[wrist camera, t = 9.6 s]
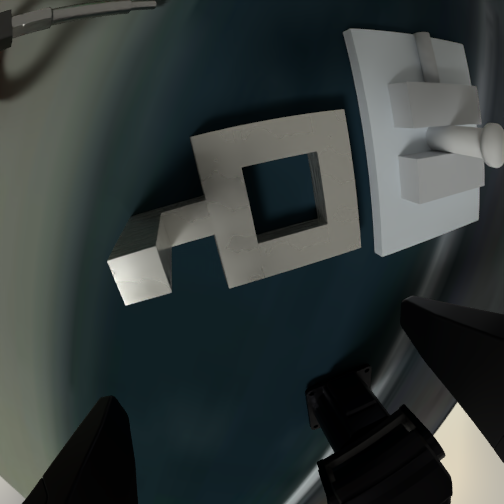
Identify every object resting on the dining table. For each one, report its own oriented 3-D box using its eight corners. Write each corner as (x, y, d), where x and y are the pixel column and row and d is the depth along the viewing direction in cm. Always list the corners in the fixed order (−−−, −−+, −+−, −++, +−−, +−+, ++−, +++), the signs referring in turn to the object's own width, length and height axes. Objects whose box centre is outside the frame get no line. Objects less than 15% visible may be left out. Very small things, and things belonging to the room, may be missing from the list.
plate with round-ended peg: (471, 217, 24) (527, 240, 18) (374, 252, 22) (436, 293, 16) (454, 45, 18) (517, 38, 11) (342, 32, 16) (409, 1, 10)
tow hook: (-27, 49, 10) (-27, -15, 5) (104, 14, 16) (150, -41, 11) (-16, 135, 13) (-25, 98, 7) (120, 88, 19) (171, 47, 13)
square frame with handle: (158, 297, 19) (156, 368, 13) (114, 159, 16) (78, 172, 10) (349, 240, 21) (412, 281, 15) (332, 110, 18) (403, 104, 12)
